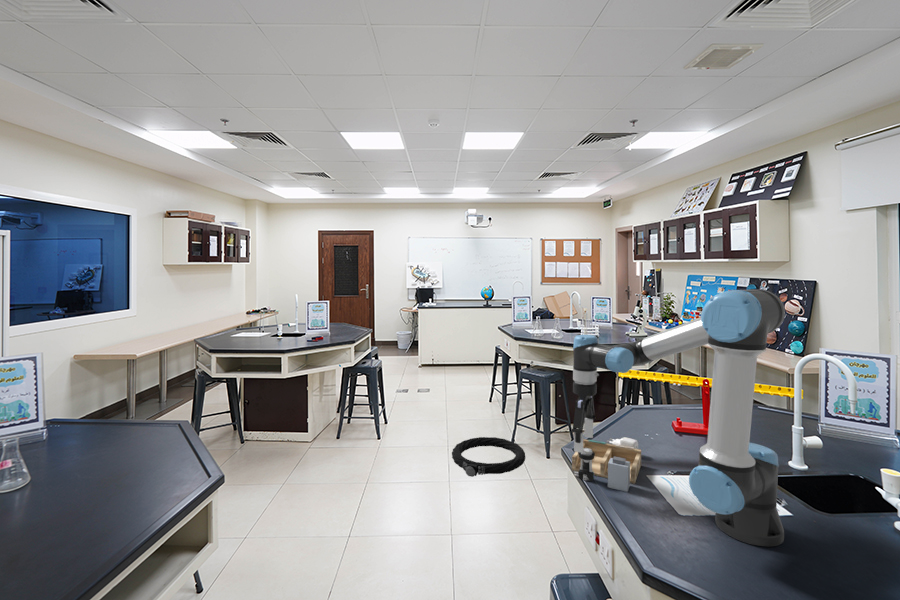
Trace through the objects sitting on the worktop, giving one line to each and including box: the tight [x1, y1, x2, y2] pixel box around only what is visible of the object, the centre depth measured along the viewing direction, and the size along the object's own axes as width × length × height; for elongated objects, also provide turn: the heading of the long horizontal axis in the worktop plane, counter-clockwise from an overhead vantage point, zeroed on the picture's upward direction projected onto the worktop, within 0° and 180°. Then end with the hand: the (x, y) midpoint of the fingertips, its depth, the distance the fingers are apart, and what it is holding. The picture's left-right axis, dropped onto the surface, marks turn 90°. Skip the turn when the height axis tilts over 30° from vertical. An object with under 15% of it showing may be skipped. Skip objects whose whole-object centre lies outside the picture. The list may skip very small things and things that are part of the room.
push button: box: [573, 448, 595, 483], centre depth 145 cm, size 7×5×10 cm
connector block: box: [607, 456, 631, 493], centre depth 139 cm, size 4×6×9 cm
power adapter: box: [606, 436, 639, 449], centre depth 165 cm, size 11×5×6 cm, turn 44°
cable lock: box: [451, 436, 526, 478], centre depth 161 cm, size 28×4×30 cm
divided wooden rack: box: [571, 438, 642, 485], centre depth 152 cm, size 16×20×6 cm
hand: (583, 444), depth 145 cm, fingers open, 13 cm apart
